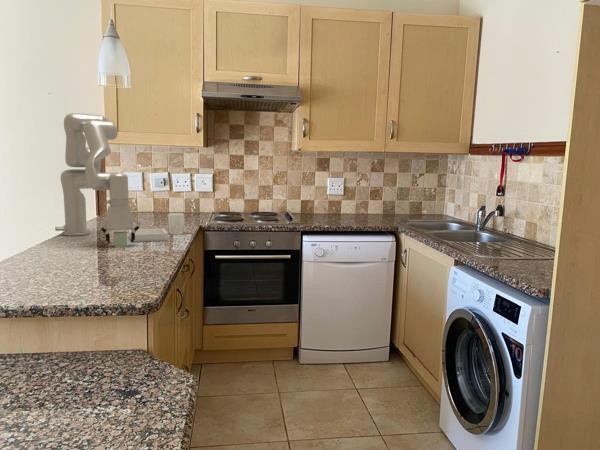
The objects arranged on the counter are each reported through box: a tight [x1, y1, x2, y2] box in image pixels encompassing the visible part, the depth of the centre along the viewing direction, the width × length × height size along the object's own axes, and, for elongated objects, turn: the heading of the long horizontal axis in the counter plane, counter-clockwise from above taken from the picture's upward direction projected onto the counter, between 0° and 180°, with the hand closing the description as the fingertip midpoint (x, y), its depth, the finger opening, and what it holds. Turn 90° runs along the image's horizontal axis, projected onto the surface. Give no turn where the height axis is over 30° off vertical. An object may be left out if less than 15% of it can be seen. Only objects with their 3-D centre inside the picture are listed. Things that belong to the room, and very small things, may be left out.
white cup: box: [167, 212, 185, 236], centre depth 243 cm, size 8×8×10 cm
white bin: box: [128, 227, 169, 243], centre depth 228 cm, size 16×16×4 cm
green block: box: [113, 230, 128, 248], centre depth 209 cm, size 5×5×6 cm
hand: (120, 242), depth 209 cm, fingers open, 9 cm apart
